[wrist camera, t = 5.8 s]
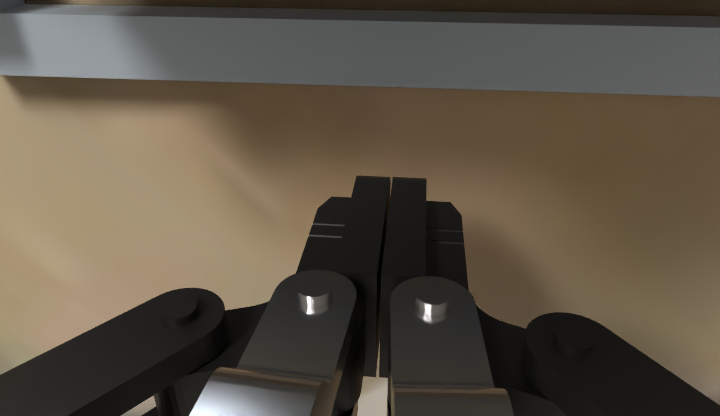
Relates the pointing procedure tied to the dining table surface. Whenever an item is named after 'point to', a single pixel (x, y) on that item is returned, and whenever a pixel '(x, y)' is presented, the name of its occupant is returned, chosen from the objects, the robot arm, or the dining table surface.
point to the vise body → (366, 48)
